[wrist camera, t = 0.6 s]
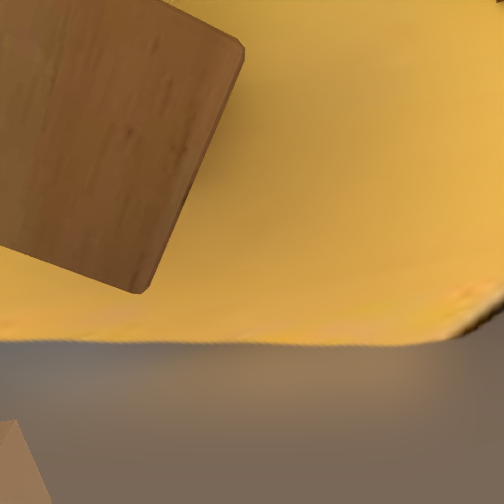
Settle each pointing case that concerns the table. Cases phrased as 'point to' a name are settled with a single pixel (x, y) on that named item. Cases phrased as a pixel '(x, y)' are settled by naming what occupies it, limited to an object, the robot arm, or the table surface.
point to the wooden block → (105, 129)
